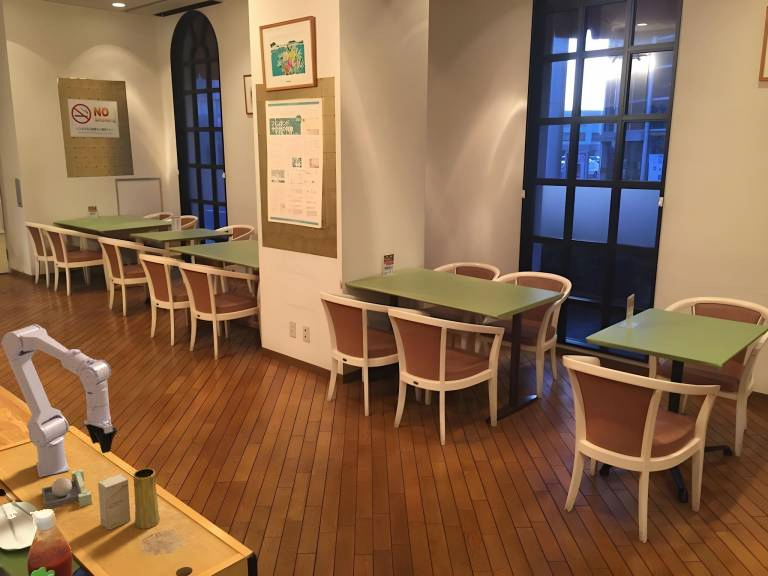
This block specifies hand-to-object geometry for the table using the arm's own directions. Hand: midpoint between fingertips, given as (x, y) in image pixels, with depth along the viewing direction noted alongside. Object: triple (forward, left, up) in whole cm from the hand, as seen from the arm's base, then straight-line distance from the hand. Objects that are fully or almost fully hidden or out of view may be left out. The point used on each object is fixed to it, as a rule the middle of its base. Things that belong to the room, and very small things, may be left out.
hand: (101, 447), depth 184 cm
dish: (+4, -12, -10) cm, 16 cm away
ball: (+4, -11, -8) cm, 14 cm away
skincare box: (+24, -1, -11) cm, 26 cm away
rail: (+4, -7, -10) cm, 13 cm away
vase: (+28, +6, -11) cm, 31 cm away
